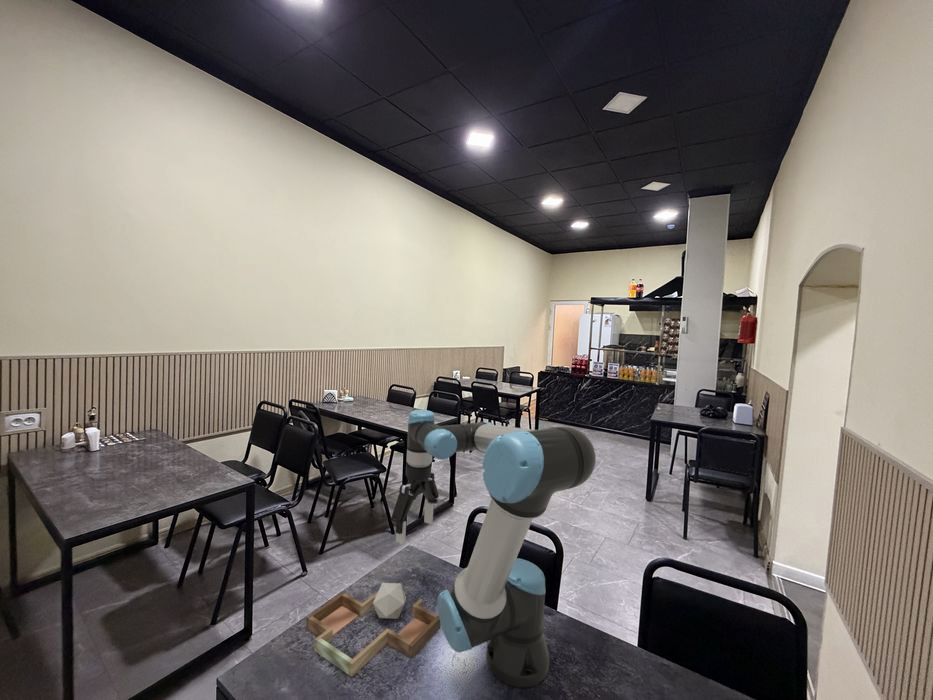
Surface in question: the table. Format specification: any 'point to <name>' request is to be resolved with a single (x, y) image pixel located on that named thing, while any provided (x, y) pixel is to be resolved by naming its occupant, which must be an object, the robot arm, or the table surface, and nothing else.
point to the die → (389, 600)
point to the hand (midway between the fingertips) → (415, 532)
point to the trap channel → (405, 641)
